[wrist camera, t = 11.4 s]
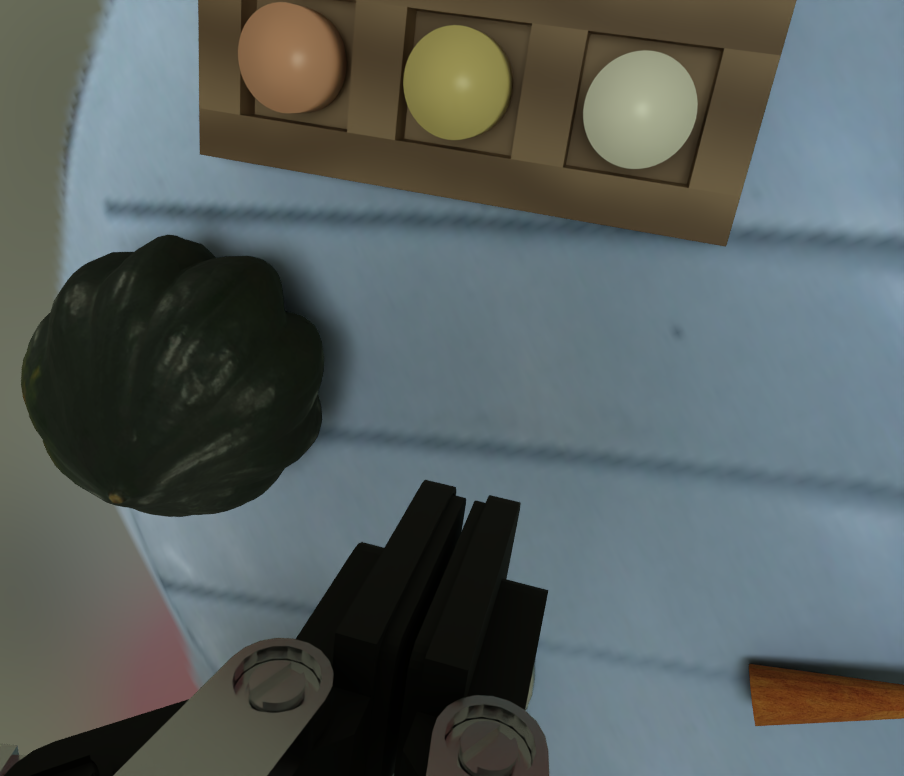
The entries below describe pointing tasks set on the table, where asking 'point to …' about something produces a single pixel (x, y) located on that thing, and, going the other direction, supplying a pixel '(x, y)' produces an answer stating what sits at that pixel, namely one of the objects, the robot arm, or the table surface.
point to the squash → (174, 379)
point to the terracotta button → (291, 58)
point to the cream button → (640, 109)
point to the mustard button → (457, 82)
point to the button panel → (515, 106)
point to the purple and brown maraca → (820, 697)
